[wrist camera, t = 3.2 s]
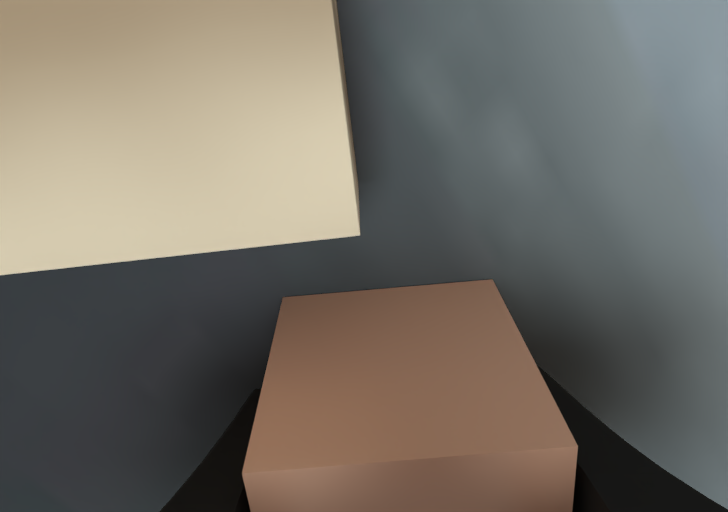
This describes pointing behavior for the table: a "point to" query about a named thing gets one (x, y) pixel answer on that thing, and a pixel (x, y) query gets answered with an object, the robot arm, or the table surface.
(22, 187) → the maple slab
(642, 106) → the table surface
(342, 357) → the terracotta block
